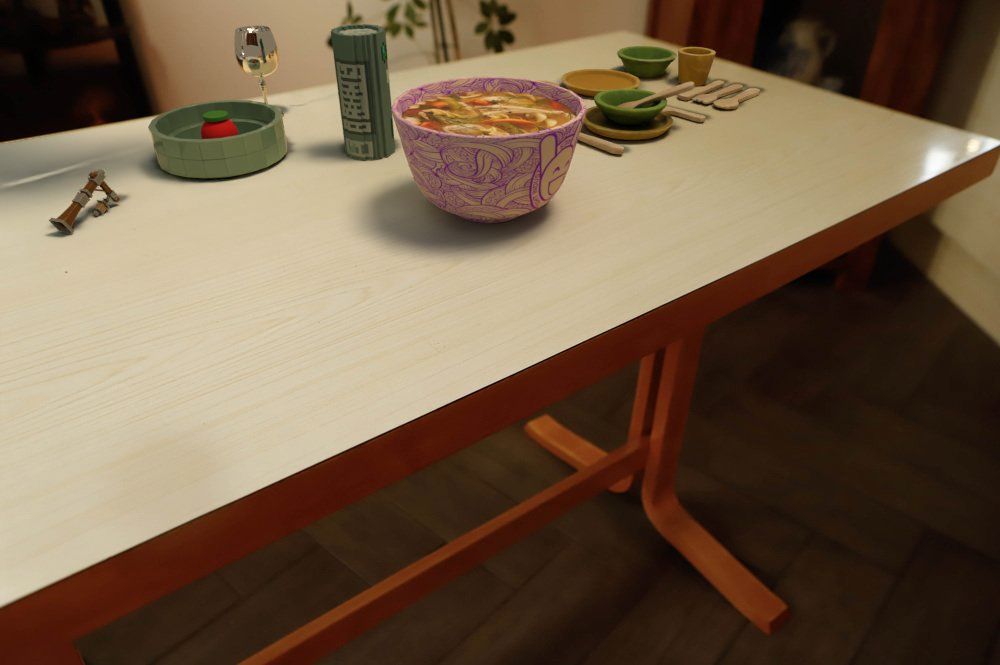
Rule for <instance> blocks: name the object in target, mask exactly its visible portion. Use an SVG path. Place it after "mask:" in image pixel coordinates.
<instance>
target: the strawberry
mask: <svg viewBox="0 0 1000 665" xmlns="http://www.w3.org/2000/svg"><path fill="white" fill-rule="evenodd" d="M228 117H229V115H228V112H226V111H222V110H216V111H209V112H206V113H204V114H203V119H204V120H205V122H204V123H203V125H202V128H201V137H202V139H215V138H224V137H230V136H236V135H238V130H237V128H236V126H235V125H234V123H233V122H232V121H231V120H229V119H228Z"/></svg>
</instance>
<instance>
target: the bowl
mask: <svg viewBox="0 0 1000 665" xmlns="http://www.w3.org/2000/svg"><path fill="white" fill-rule="evenodd" d="M216 110H222V111H226V112H228V115H229V117H228V119H229V120H231V121H232V122H233V123H234V125H235V126H236V128H237V130H238V135H236V136H230V137H224V138H215V139H202V137H201V128H202V125H203V123H204V122H205V120H204V119H203V114H204V113H206V112H209V111H216ZM283 118H284V117H282V111H281V110H280V109H279V108H278V107H277V106H275V105H272V104H270V103H268V104H267V103H264V102H262V101H255V100H248V99H224V100H222V99H219V100H210V101H202V102H195V103H191V104H187V105H182V106H179V107H175V108H173V109H171V110H168V111H165V112H162V113H161V114H159V115H157V116H156V117H154V118H153V119H152V120H151V121H150V123H149V124H148V127H147V128H148V131H149V136H150V140H151V142H152V146H153V149H154V154H155V156H156V159H157V163H158V165H159V167H160V169H161V170H163V171H165V172H166V173H169V174H171V175H175V176H178V177H183V178H194V179H225V178H231V177H237V176H243V175H246V174H250V173H253V172H257V171H259V170H262V169H266V168H268V167H270V166H271V165H273V164H275V163H277V162H279V161H280V160H282V158H284V157H285V155H286V154H287V152H288V143H287V136H286V131H285V125H284V119H283Z"/></svg>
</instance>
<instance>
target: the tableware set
mask: <svg viewBox="0 0 1000 665" xmlns="http://www.w3.org/2000/svg"><path fill="white" fill-rule="evenodd" d="M716 53H717V52H716V51H715V50H713V49H711V48H707V47H701V46H685V47H680V48H679V49H677V53H676V52H675V51H673V50H670V49H668V48H665V47H660V46H651V45H635V46H634V45H633V46H627V47H623V48H620V49H619V50H617V52H616V55H617V57H618V58H619V59H620V60H621V62H622V65H623V68H624V69H625V72H624V71H620V70H615V69H607V68H606V69H605V68H585V69H579V70H578V69H577V70H571V71H570V72H569V71H568V72H566V73H564V74H563V75H561V77H560V80H561V83H562V84H563V85H564V86H565V88H566V89H568V90H570V91H572V92H574V93H575V94H577V95H583V96H588V97H594V98H593V101H594V104H595V106H591V107H588V108H586V109H587V111H586V114H585V118H584V121H583V124H584V125H585V126H586V128H587V129H588V130H589V131H590V132H592V133H594V134H596V135H598V136H602V137H606V138H610V139H616V140H625V141H626V140H627V141H628V140H629V141H637V140H649V139H653V138H656V137H659V136H661V135H663V134H665V132H666V131H668V130H669V129H670V128H671V127H672V126H673V125H674V119H673V117H672V116H677V117H680V118H683V119H686V120H689V121H693V122H696V123H697V122H698V123H704V122H706V119H707V118H706V116H705V115H702V114H698V113H696V112H691V111H688V110H685V109H680V108H676V107H672V106H668V100H667V99H669V98H672V97H675V96H677V98H678V99H679V100H682V101H685V102H686V101H690V100H691V101H692V102H697V103H702V104H704V105H709V104H710V105H711V104H712V105H713V106H714V107H716V108H719V109H723V110H736V109H738V108H739V105H740V103H742V102H744V101H747V100H749V99H752V98H754V97H757V96H759V95H760V92H761V89H759V88H756V87H749V88H747V89H746V90H744V91H742V90H743V85H742V84H740V83H733V84H731V85H729V86H726V87H724V86H725V81H724V80H715V81H712V82H710V83H708V84H707V85H706V83H707V81H708V78H709V76H710V75H709V74H710V72H711V69H712V66H713V63H714V60H715V57H716ZM676 59H677V65H678V66H677V77H678V78H677V81H678V83H680V84H677V85H675V86H672V87H670V88H666V89H664V90H662V91H659V92H654V91H650V90H646V89H639V86H640V85H641V80H640V78H656V77H660V76H662V75H663V74H664V73H665V71H666V70H667V69H668V67H669V66H670V65H671V63H673V62H674V61H675V60H676ZM534 80H535V81H540V82H545V83H550V84H554V85H557V86H559V87H561V85H560V84H558V83H556V82H553V81H549V80H541V79H539V80H536V79H534ZM723 87H724V88H723ZM637 88H638V89H637ZM718 89H719V90H718ZM715 90H717V91H715ZM714 91H715V92H714ZM741 91H742V92H741ZM710 92H712V93H710ZM739 92H740V93H739ZM735 93H738V94H736V95H734V96H733V97H729V98H723V97H725V96H728V95H731V94H735ZM671 115H672V116H671ZM577 141H581V142H582V143H585V144H587V145H589V146H593V147H595V148H598V149H600V150H602V151H605V152H607V153H610V154H614V155H622V154H624V153H625V146H623V145H621V144H617V143H615V142H611V141H608V140H605V139H602V138H599V137H597V136H593V135H589V134H586V133H583V132H581V131H580V134H579V137H578V140H577Z"/></svg>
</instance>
